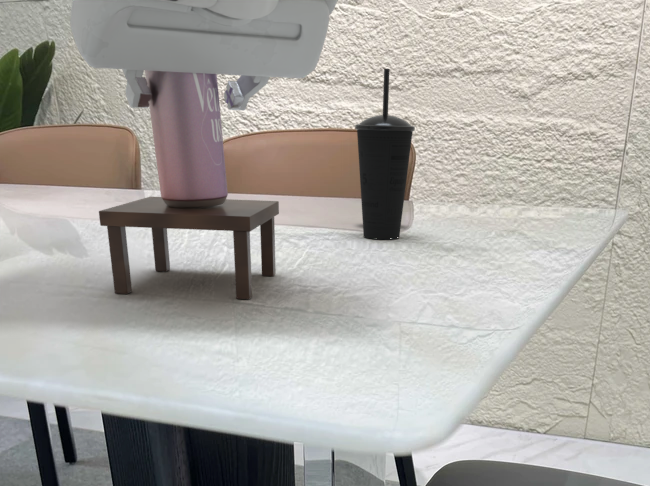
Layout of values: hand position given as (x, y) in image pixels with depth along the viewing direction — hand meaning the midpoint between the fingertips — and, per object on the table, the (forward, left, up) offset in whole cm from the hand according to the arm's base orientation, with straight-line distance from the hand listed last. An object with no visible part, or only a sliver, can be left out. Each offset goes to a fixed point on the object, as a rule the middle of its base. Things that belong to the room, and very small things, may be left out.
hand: (186, 103), depth 67 cm
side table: (0, 0, -15) cm, 15 cm away
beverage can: (0, -1, -8) cm, 8 cm away
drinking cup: (+15, +35, -16) cm, 41 cm away
